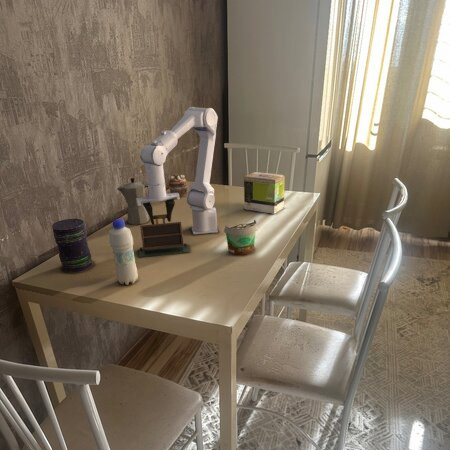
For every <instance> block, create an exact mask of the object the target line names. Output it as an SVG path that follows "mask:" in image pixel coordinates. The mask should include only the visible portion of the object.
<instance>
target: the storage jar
mask: <svg viewBox="0 0 450 450" xmlns="http://www.w3.org/2000/svg"><path fill="white" fill-rule="evenodd" d="M51 229H52V233H53V238H54V242H55V244H56V245H57V250H58V257H59V261H60V264H61V266H62V270H63V272H65V273H67V274H77V273H82V272H85V271H87V270H89V269H91V268H92V267H93V265H94V264H93V263H94V262H93V259H92V253H91V249H90V247H89V244H88V234H87V229H86V227H85V222H84V220H83V219H80V218H66V219H62V220H57V221H55V222H54V223H52V224H51Z"/></svg>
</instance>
